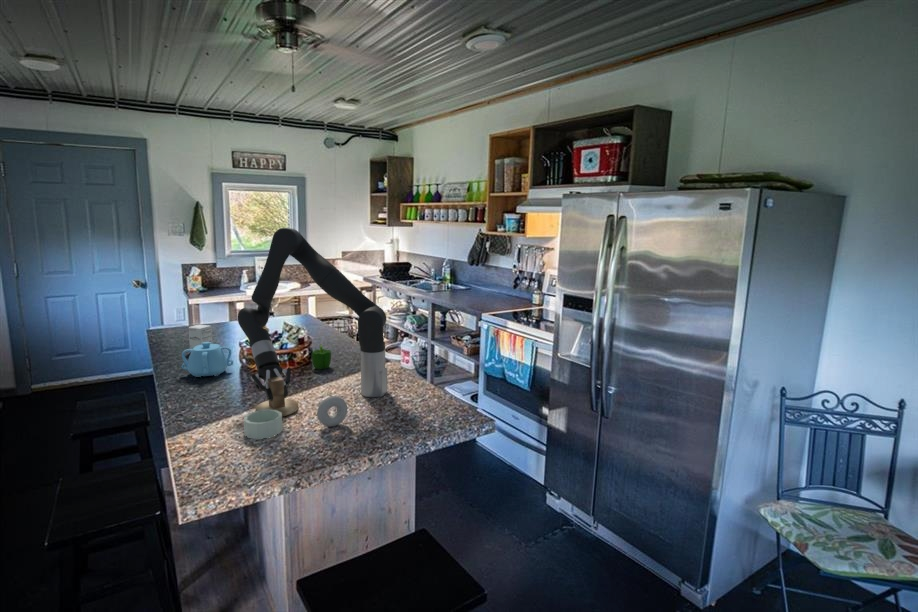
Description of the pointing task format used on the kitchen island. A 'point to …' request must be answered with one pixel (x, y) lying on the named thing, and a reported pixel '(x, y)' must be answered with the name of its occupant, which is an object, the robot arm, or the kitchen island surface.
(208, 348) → the decorative pot
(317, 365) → the bell pepper
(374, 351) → the robot arm
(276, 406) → the lid
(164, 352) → the kitchen island surface
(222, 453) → the kitchen island surface
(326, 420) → the donut
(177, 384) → the kitchen island surface
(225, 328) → the kitchen island surface
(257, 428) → the bowl
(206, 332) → the supplement box
